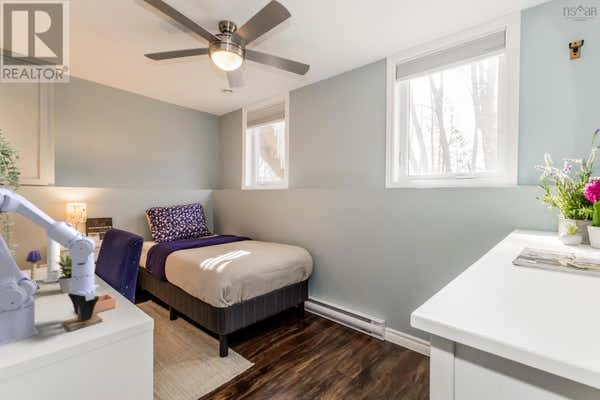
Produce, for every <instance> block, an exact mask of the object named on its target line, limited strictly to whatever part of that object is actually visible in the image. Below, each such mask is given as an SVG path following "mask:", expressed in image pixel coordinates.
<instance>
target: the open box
mask: <svg viewBox="0 0 600 400" xmlns="http://www.w3.org/2000/svg"><path fill="white" fill-rule="evenodd" d="M97 296H98V297H99V300H98V301H97V303H96V305H95V307H94V310H93V313H95V314H97V315H98V314H100V313H101V314H102V313H103V312H107V311H111V310H114V309H116V297H114V296H113V295H111V294H110V293H105V294H102V295H97Z"/></svg>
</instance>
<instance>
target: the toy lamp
mask: <svg viewBox="0 0 600 400" xmlns="http://www.w3.org/2000/svg"><path fill="white" fill-rule="evenodd" d="M25 261H26V262H28V263H30V268H31V269H30V275H29V276H30V278H29V279H31V280H33V281H34V282H35V283H36V280H37V279H36V278H37V264H38V263H37V262H40V261H42V256H41V253H40V251H39V250H32V251H29V252H28V254H27V258H26V260H25ZM36 284H37V283H36ZM40 288H41V287H40V286H39V285H38V284H37V290H40Z"/></svg>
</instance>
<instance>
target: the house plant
mask: <svg viewBox="0 0 600 400" xmlns="http://www.w3.org/2000/svg"><path fill="white" fill-rule="evenodd" d="M57 256H58V255H57ZM59 257H60V262H55V263H59V265H60V273H59V274H60V277H59V278H58V280H59V281H58V283H59V287H60V292H61V293H62V294H69V293H71V289H72V255H70V256H69V255H68V254H66V256H65V259H64V257H63V256H61V255H60V256H59ZM61 270H62V271H61ZM53 272H56V271H54V270H53ZM53 272H51V273H53ZM51 273H50V274H51ZM57 273H58V272H57Z"/></svg>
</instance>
